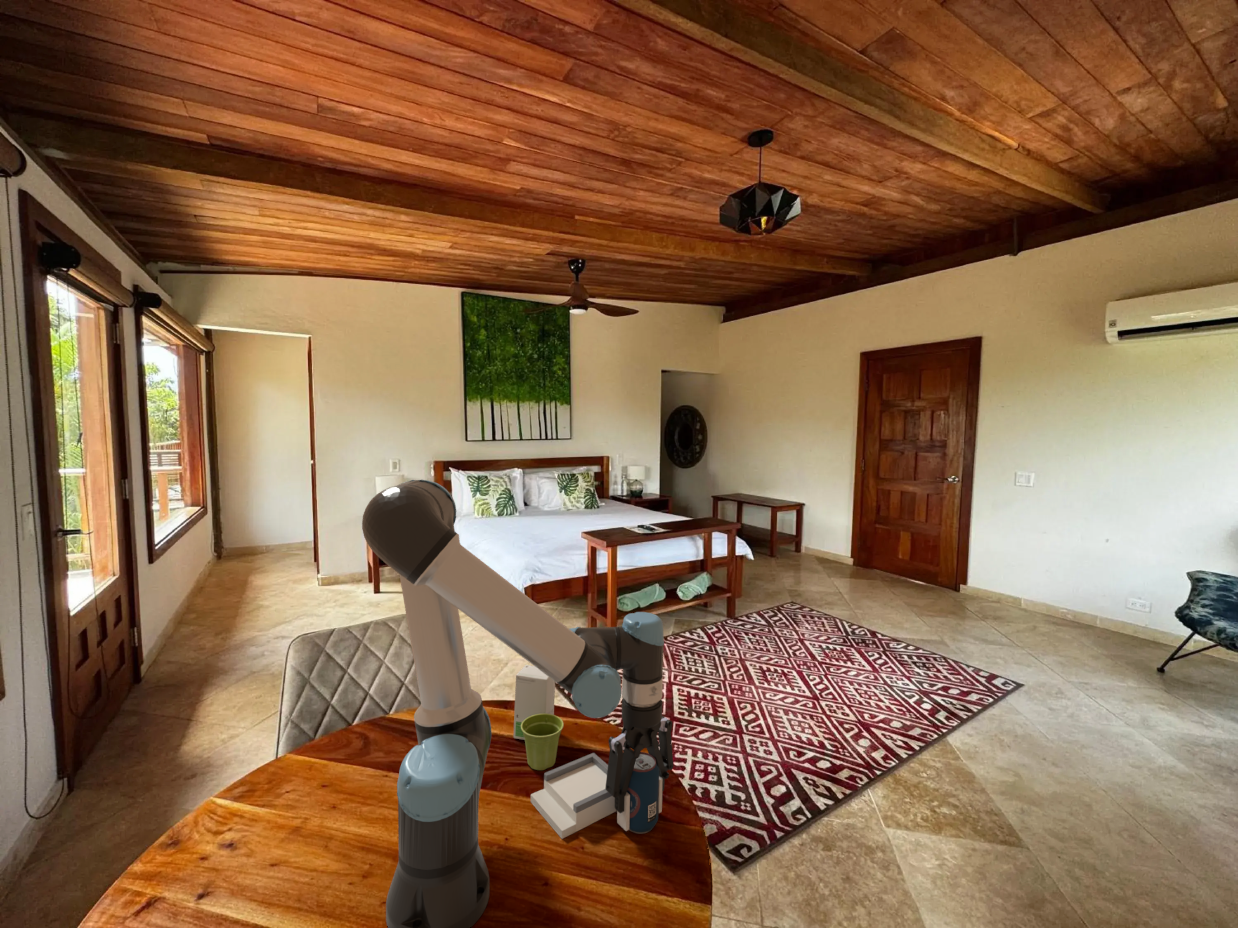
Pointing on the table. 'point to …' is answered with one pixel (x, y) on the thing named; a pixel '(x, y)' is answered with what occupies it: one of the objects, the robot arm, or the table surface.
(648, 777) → the soda can
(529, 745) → the plant pot
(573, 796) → the dock
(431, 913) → the robot arm
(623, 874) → the table surface
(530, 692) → the skincare box
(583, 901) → the table surface
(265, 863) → the table surface
